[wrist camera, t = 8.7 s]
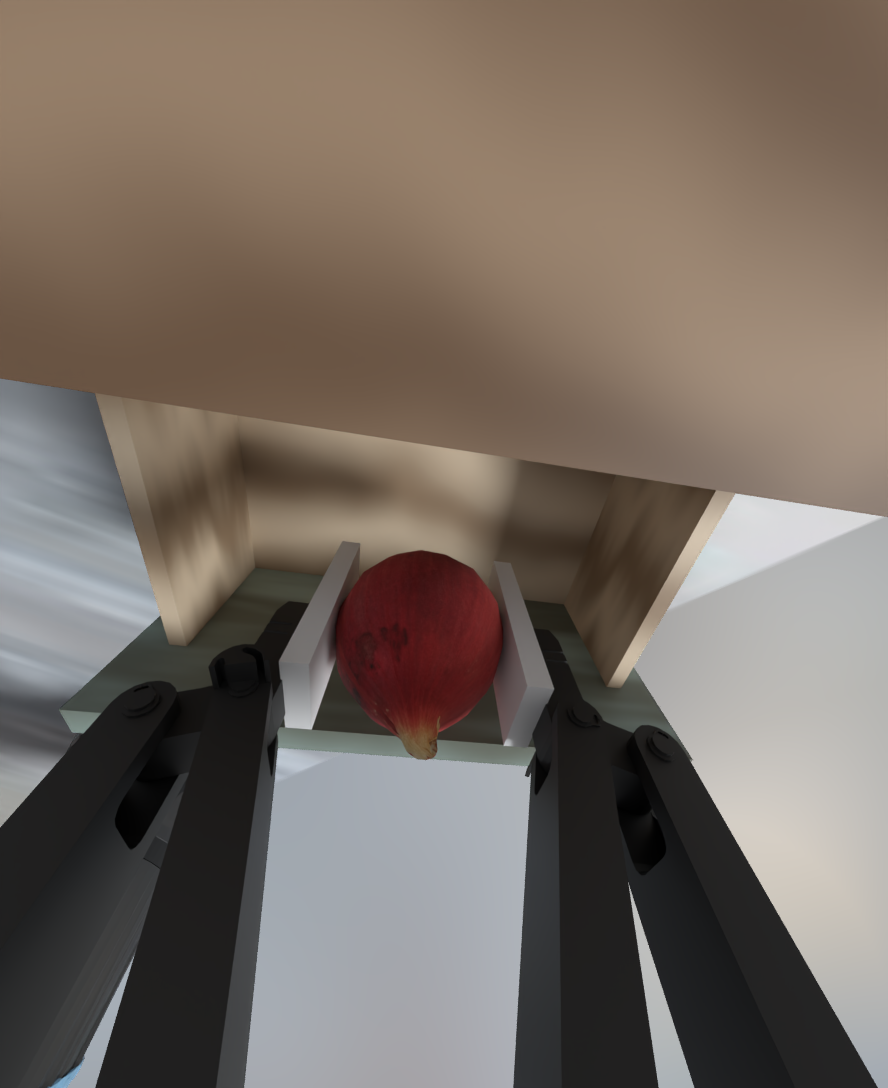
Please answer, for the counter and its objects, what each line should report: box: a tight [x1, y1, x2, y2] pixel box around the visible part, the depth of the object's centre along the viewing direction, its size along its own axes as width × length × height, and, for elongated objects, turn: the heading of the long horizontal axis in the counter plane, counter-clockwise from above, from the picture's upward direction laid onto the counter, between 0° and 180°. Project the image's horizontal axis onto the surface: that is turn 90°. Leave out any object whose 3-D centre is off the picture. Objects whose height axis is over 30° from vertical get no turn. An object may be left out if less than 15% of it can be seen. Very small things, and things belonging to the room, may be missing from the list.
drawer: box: [59, 393, 735, 766], centre depth 17 cm, size 16×26×12 cm, turn 81°
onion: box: [336, 550, 503, 760], centre depth 12 cm, size 6×6×8 cm
